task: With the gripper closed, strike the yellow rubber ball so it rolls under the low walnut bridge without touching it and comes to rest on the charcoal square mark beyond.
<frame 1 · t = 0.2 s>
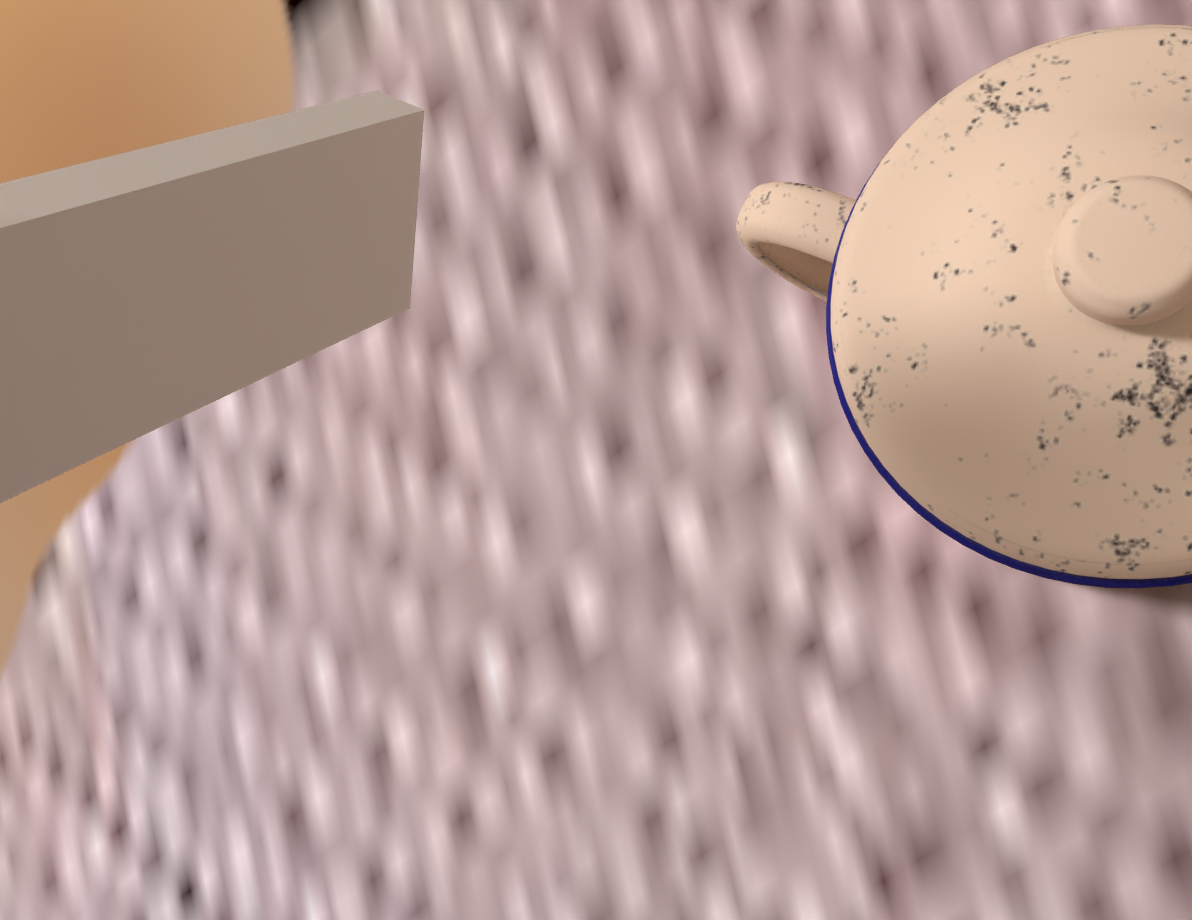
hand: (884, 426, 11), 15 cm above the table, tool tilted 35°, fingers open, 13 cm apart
teacup with lid: (1018, 373, 26), on the table
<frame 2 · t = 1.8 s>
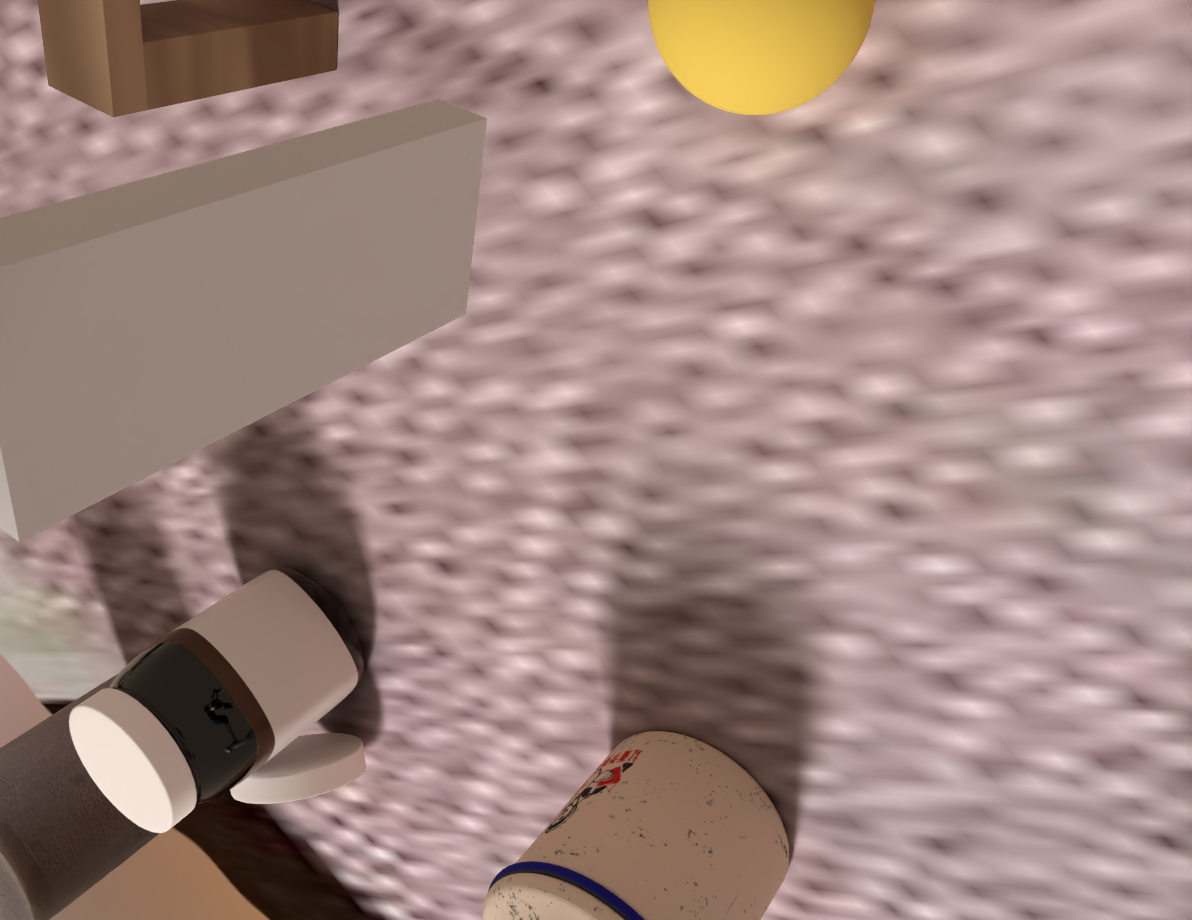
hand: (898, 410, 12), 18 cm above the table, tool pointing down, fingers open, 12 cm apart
teacup with lid: (692, 829, 46), on the table
spread jar: (329, 660, 56), on the table
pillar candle: (186, 715, 69), on the table
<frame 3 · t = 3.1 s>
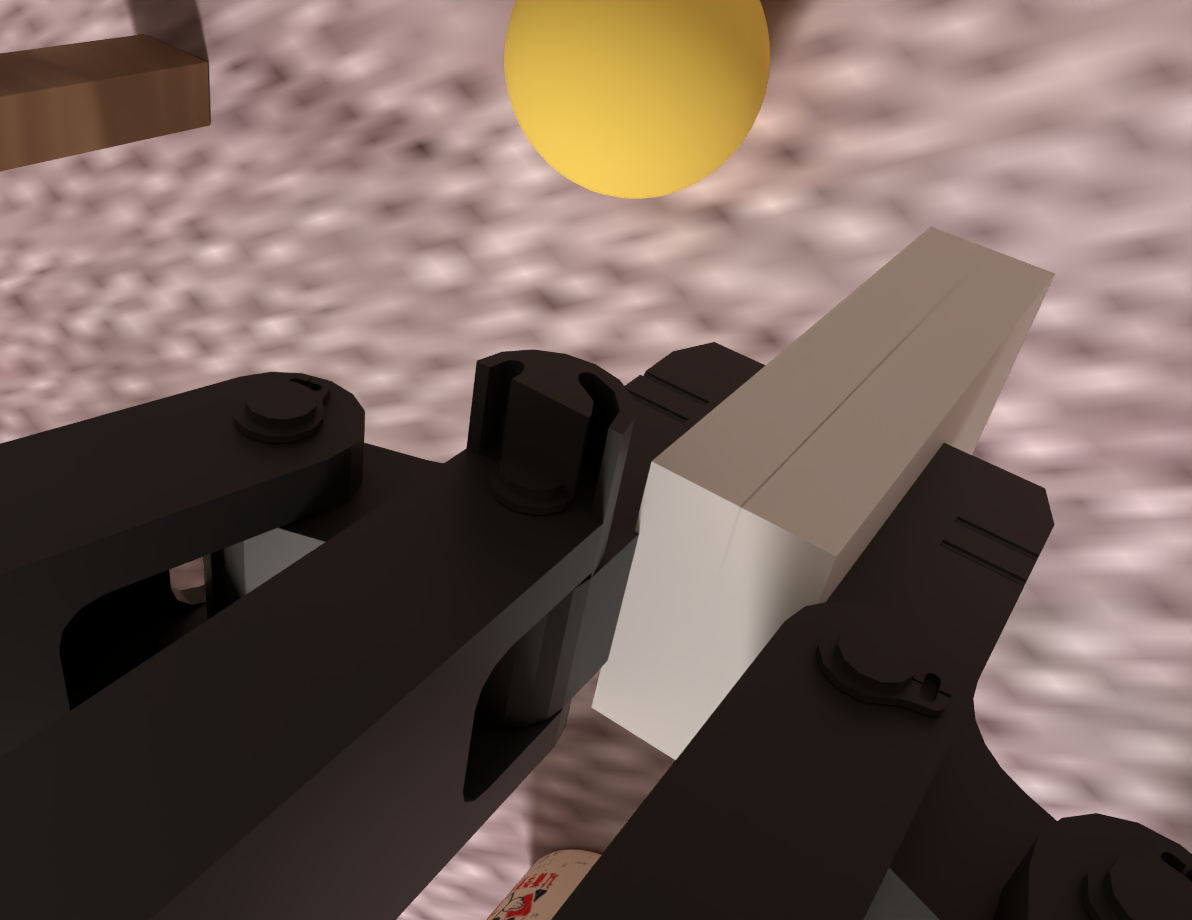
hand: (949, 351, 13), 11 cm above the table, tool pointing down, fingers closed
ball: (636, 62, 22), on the table
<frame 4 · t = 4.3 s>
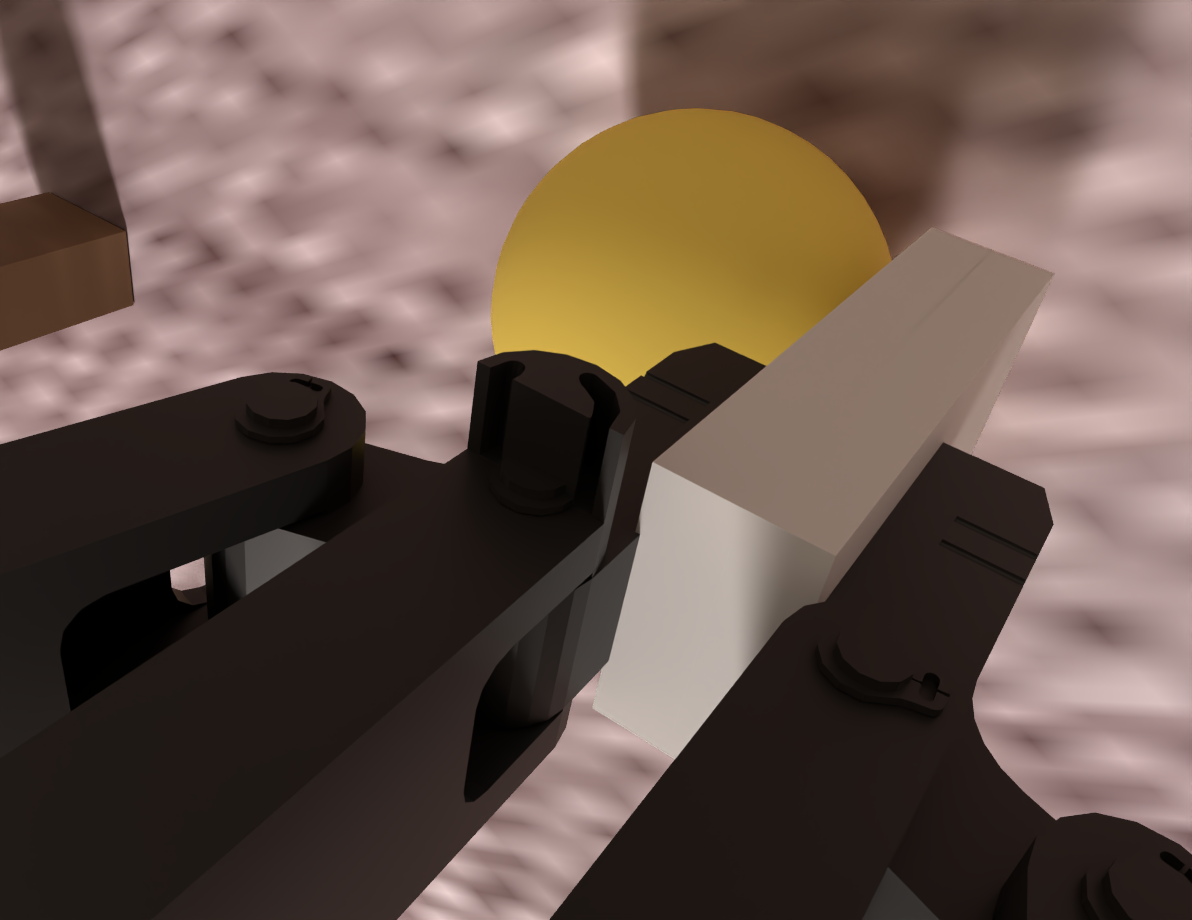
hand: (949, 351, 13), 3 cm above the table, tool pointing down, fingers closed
ball: (691, 317, 15), on the table, touching gripper
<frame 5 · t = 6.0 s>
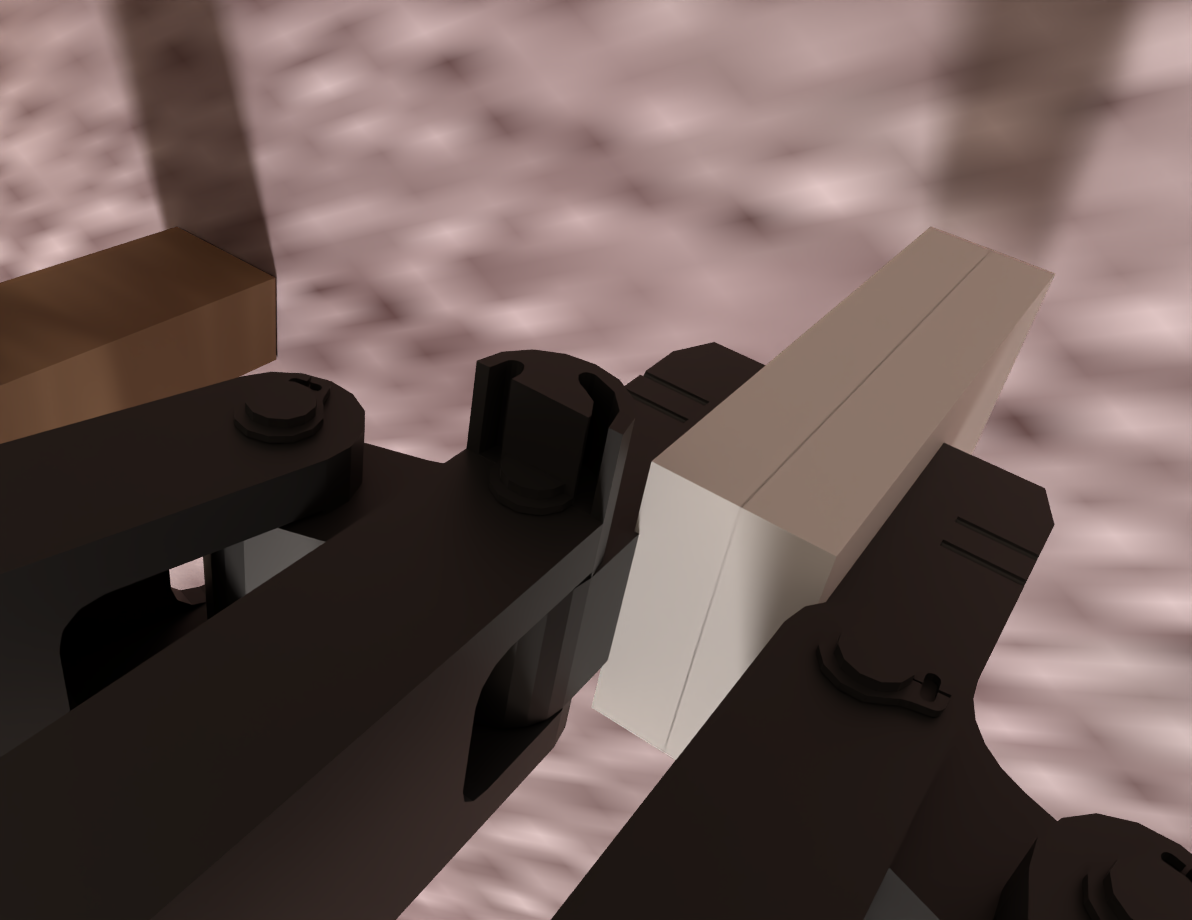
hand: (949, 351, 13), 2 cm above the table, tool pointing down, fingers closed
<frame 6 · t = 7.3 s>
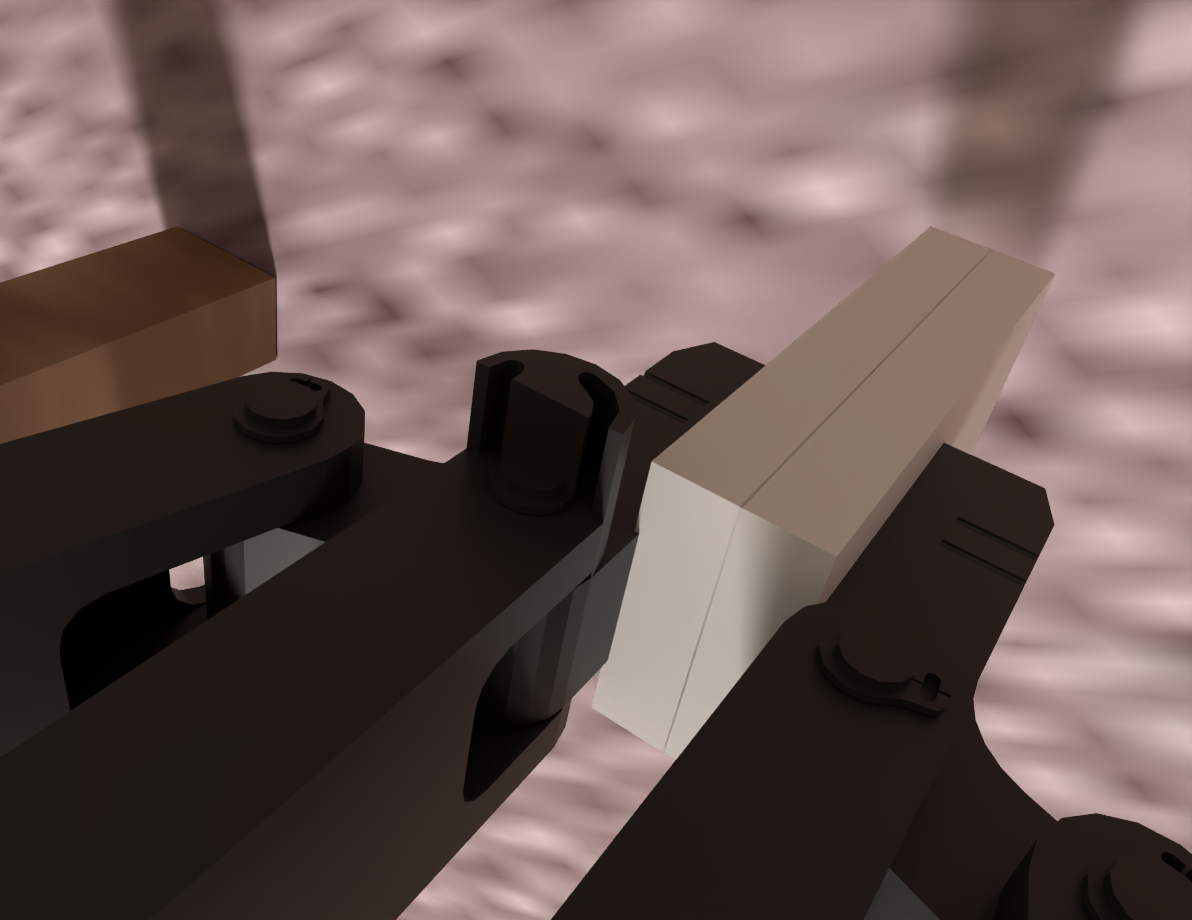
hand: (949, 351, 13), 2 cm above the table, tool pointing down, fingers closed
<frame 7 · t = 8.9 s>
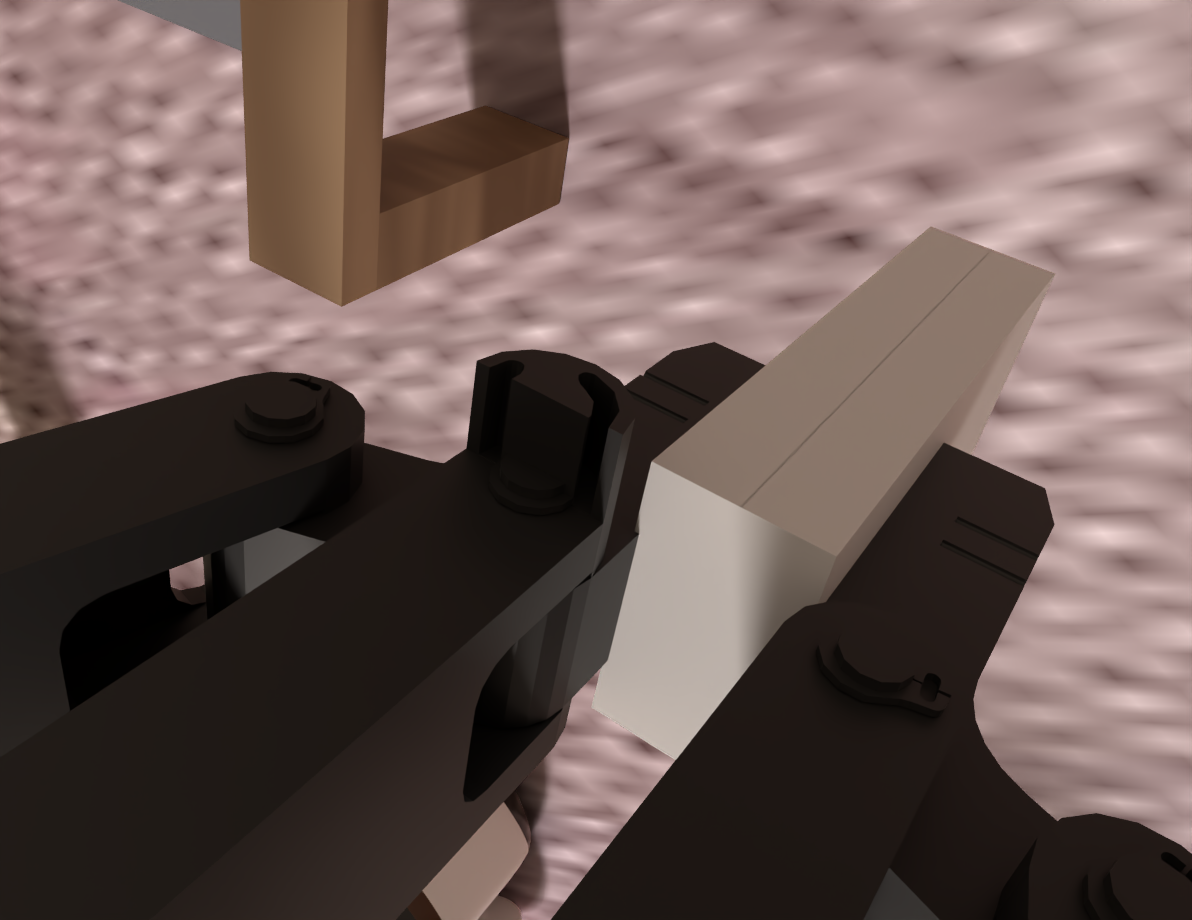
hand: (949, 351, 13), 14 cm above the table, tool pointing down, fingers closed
spread jar: (481, 819, 50), on the table
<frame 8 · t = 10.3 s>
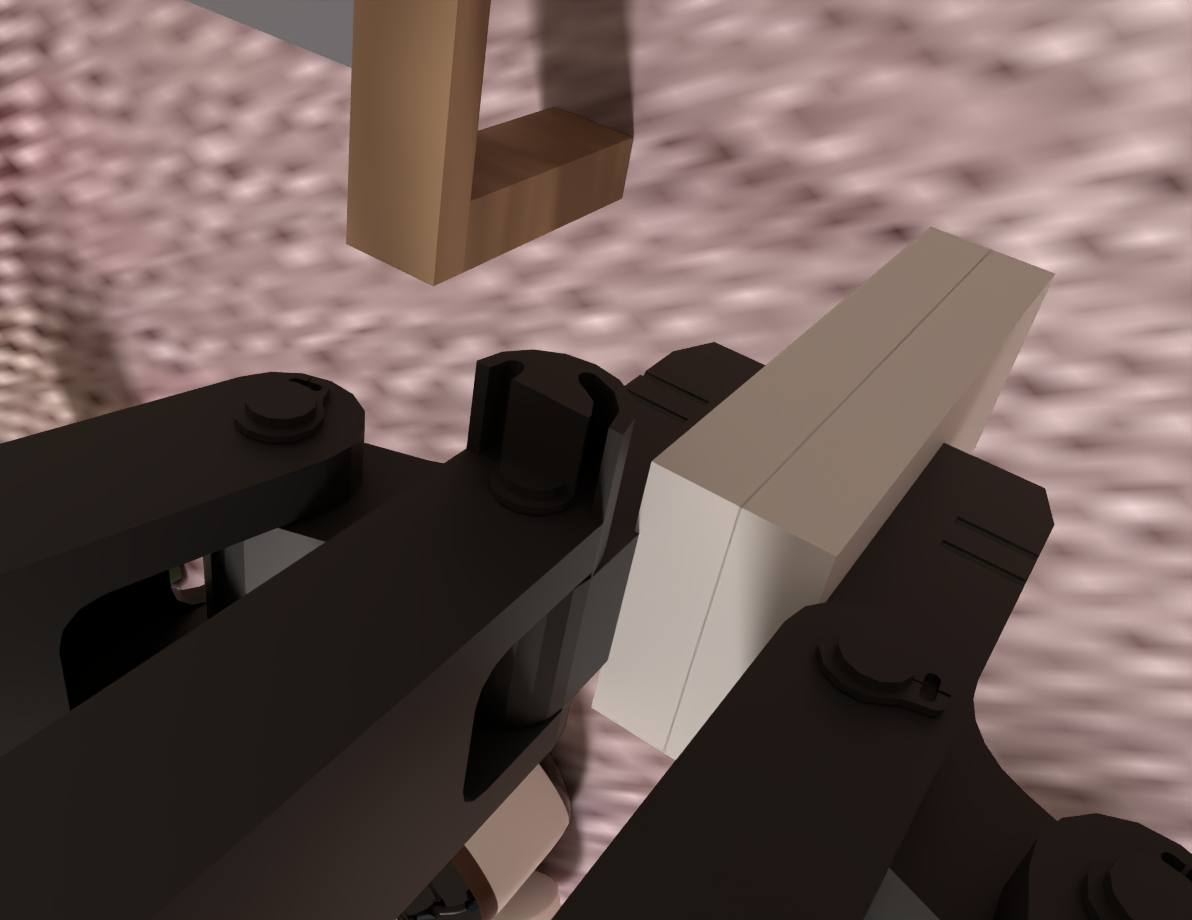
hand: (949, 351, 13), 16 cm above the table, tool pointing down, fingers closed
spread jar: (520, 795, 52), on the table
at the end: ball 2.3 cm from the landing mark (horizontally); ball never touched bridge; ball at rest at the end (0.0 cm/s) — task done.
